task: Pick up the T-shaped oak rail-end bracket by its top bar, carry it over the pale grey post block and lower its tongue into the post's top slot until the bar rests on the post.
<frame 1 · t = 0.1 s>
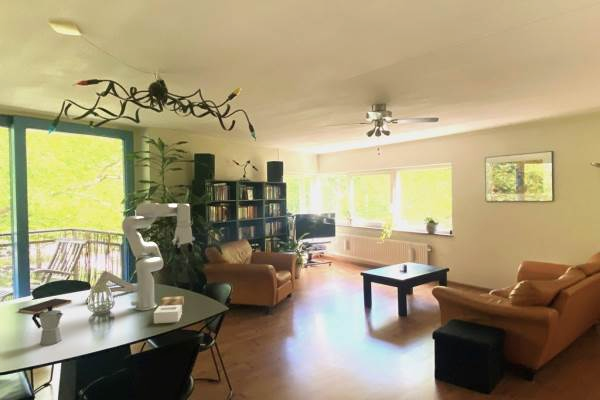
hand: (184, 253, 208), 37 cm above the table, tool pointing down, fingers open, 9 cm apart
coffee maker: (48, 342, 172), on the table
post: (168, 318, 202), on the table
hardcover book: (46, 308, 226), on the table
rail end: (173, 311, 215), on the table
wall bracket: (114, 297, 248), on the table
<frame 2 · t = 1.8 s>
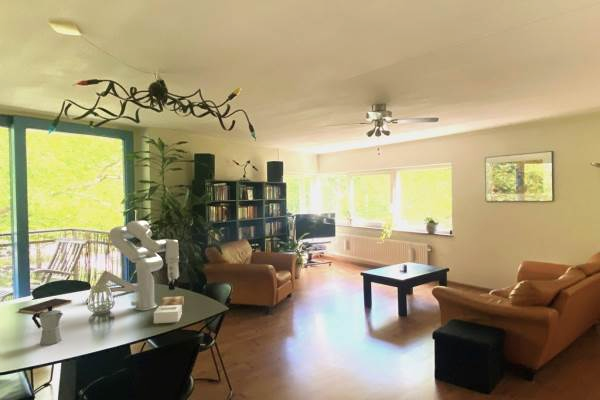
hand: (173, 287, 214), 15 cm above the table, tool pointing down, fingers open, 9 cm apart
nothing on the table moved.
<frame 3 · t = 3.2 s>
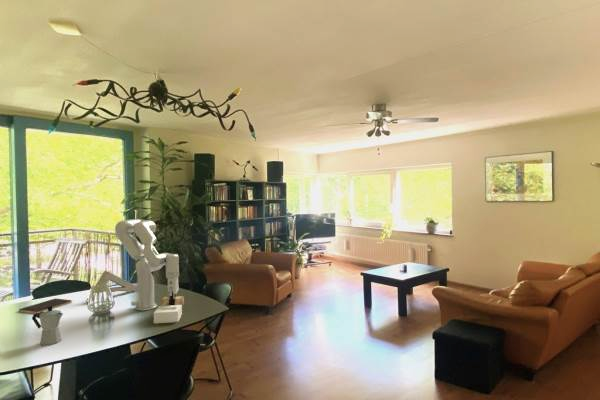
hand: (173, 303, 215), 5 cm above the table, tool pointing down, fingers closed on rail end, 5 cm apart
rail end: (173, 311, 215), on the table, touching gripper
everything else where it was.
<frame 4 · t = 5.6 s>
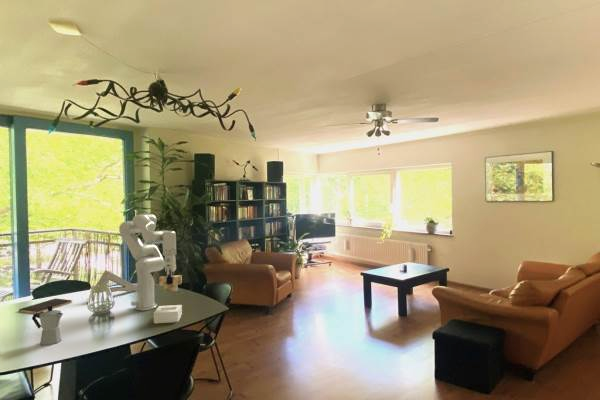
hand: (170, 282, 207), 20 cm above the table, tool pointing down, fingers closed on rail end, 5 cm apart
rail end: (171, 290, 207), point 15 cm above the table, touching gripper
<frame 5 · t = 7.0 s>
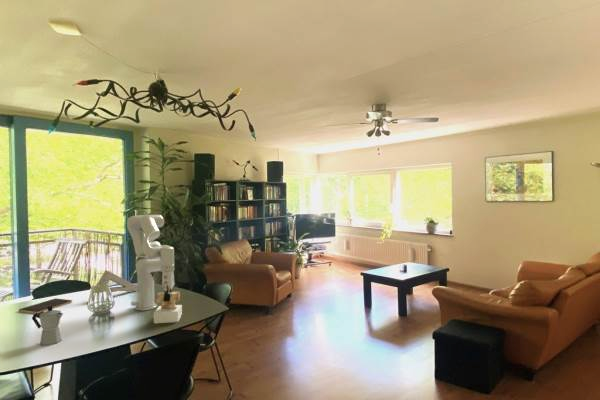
hand: (168, 299, 202), 12 cm above the table, tool pointing down, fingers closed on rail end, 5 cm apart
rail end: (168, 307, 202), point 7 cm above the table, touching gripper
when the fingers open (8 cm above the table, at t = 8.1 s): rail end stays where it is, resting on post.
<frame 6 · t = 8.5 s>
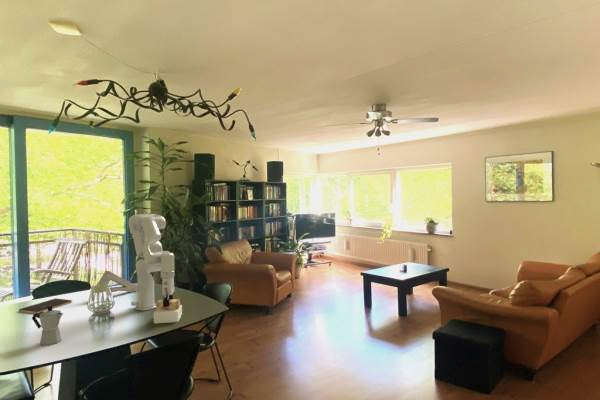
hand: (168, 303, 202), 9 cm above the table, tool pointing down, fingers open, 9 cm apart
rail end: (168, 315, 202), point 2 cm above the table, touching post
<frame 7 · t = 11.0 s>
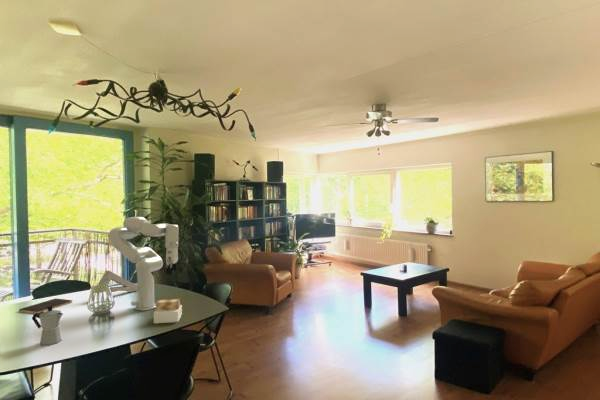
hand: (171, 272, 215), 24 cm above the table, tool pointing down, fingers open, 9 cm apart
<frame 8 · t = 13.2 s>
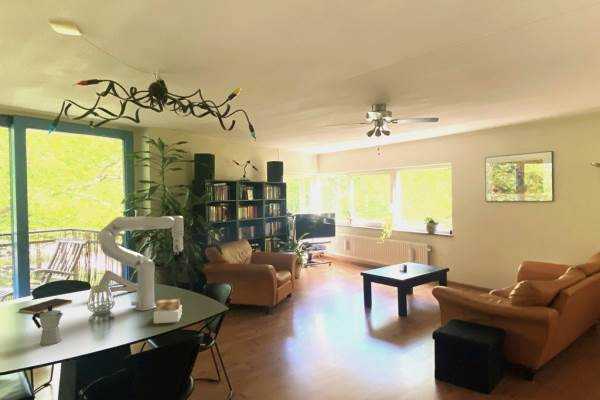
hand: (178, 259, 235), 28 cm above the table, tool pointing down, fingers open, 9 cm apart
at the end: rail end 0.1 cm off-centre on the post, point 2.0 cm above the post's base; rail end tilted 0°; the gripper is holding nothing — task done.
